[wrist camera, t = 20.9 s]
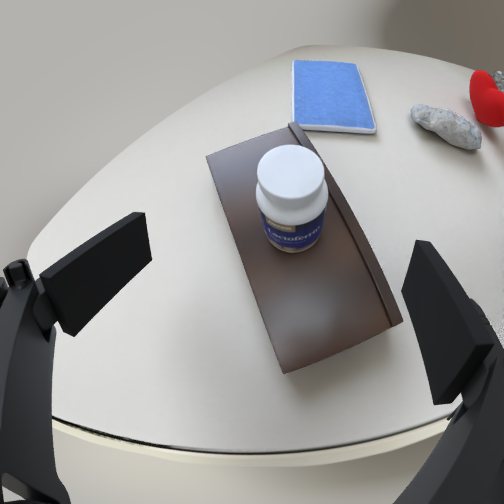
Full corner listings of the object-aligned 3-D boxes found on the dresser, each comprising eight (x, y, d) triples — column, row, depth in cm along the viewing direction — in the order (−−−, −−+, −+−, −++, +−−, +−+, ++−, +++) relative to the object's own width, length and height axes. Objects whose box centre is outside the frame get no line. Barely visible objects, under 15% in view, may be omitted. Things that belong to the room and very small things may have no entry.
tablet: (291, 63, 42) (291, 58, 41) (357, 67, 40) (357, 62, 39) (291, 132, 36) (291, 125, 35) (376, 137, 34) (378, 131, 33)
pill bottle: (268, 258, 27) (253, 211, 17) (261, 206, 29) (244, 145, 19) (327, 249, 26) (341, 198, 17) (315, 198, 28) (320, 134, 19)
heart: (455, 97, 35) (470, 61, 26) (473, 101, 34) (488, 67, 25) (482, 142, 31) (505, 105, 22) (500, 145, 31) (523, 111, 21)
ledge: (388, 324, 26) (404, 321, 22) (284, 369, 27) (282, 375, 22) (297, 143, 35) (296, 120, 31) (214, 174, 36) (203, 153, 32)
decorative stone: (470, 131, 32) (480, 113, 27) (478, 160, 30) (491, 141, 26) (406, 109, 35) (413, 88, 30) (410, 137, 33) (420, 114, 29)
